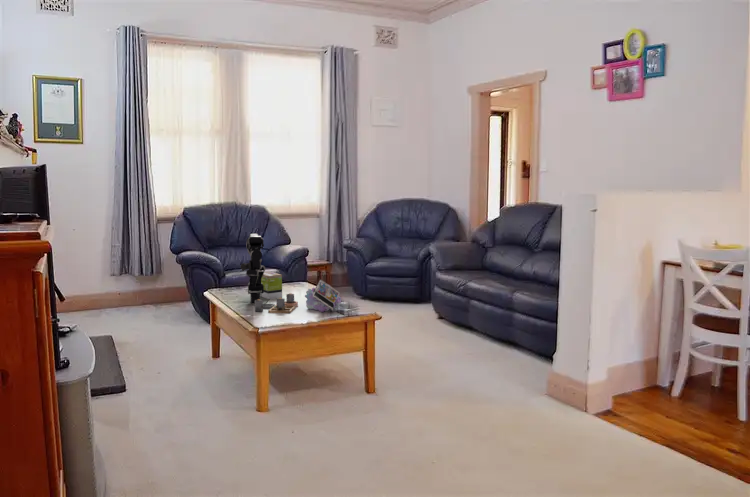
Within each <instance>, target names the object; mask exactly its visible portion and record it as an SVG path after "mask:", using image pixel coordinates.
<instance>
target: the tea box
mask: <svg viewBox="0 0 750 497" xmlns="http://www.w3.org/2000/svg"><path fill="white" fill-rule="evenodd" d="M282 280H283V274H280V273H277V272H273V271H265V272H264V274H263V276H262V279H261V283H263V285H264V293H260V297H262V298H264V299H267V300H273V299H274V300H275V299H278V298H283V281H282Z"/></svg>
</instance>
